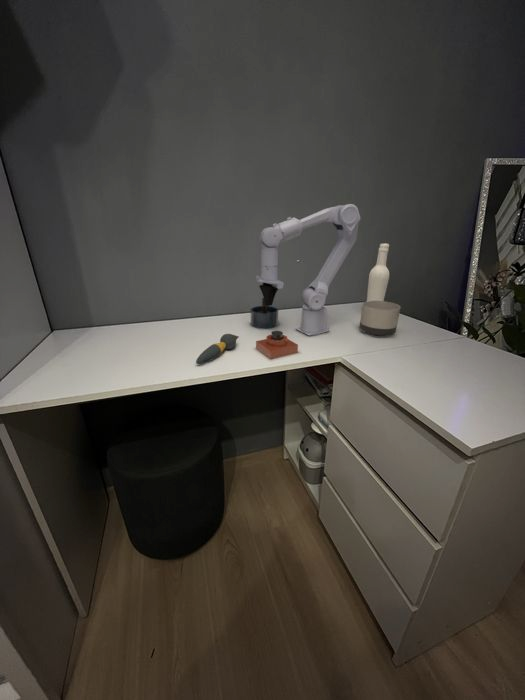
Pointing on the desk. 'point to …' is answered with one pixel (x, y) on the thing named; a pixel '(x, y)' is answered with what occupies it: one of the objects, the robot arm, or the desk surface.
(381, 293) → the bottle
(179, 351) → the desk surface
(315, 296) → the robot arm
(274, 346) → the knobbed square stamp
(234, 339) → the paintbrush
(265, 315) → the dark blue round bowl
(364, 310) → the planter
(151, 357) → the desk surface
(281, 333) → the pump button
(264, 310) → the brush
